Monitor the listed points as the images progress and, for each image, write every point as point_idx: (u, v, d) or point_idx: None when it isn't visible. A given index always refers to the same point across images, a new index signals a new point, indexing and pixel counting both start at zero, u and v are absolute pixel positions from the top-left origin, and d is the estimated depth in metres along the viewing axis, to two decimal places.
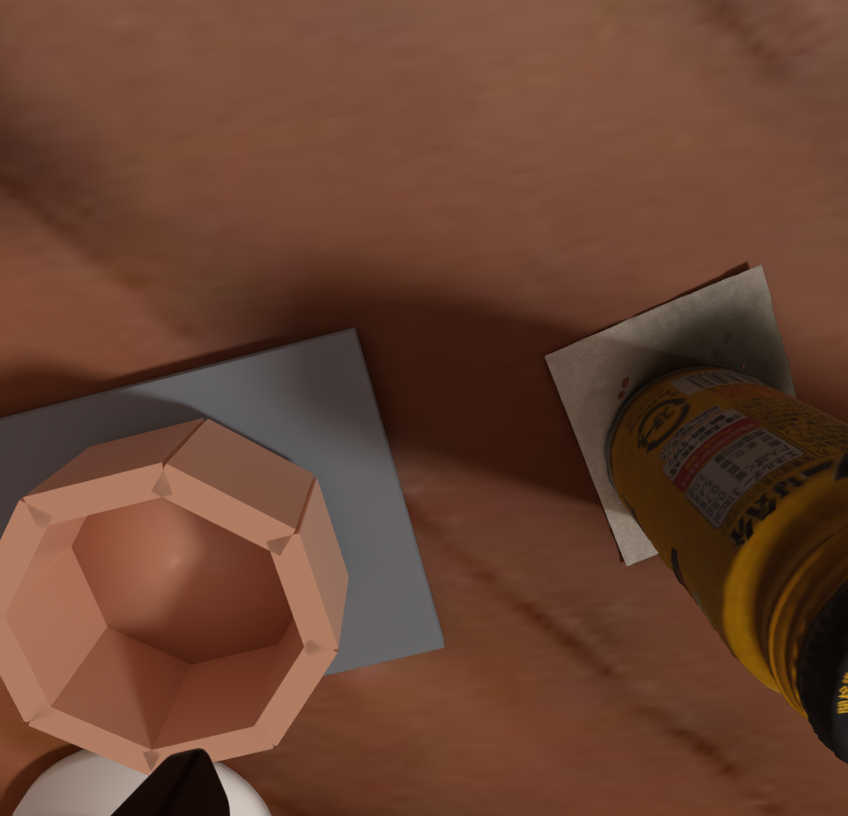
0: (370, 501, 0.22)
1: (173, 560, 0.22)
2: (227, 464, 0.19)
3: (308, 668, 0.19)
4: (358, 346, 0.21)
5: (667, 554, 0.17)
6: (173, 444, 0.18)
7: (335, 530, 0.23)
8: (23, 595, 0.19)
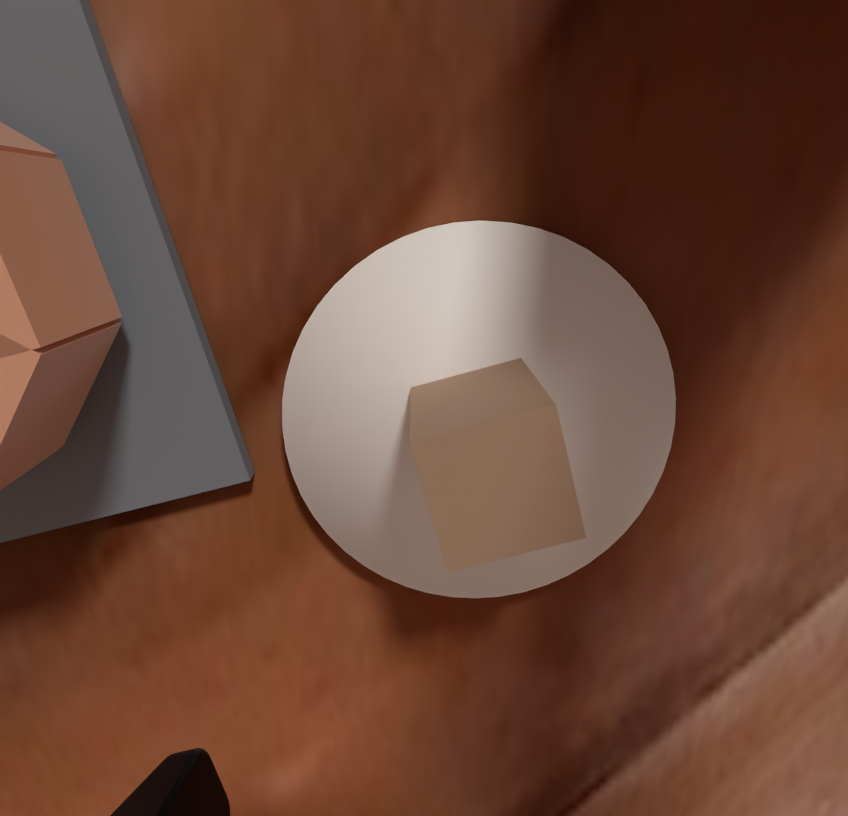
0: None
1: None
2: None
3: None
4: None
5: None
6: None
7: None
8: None
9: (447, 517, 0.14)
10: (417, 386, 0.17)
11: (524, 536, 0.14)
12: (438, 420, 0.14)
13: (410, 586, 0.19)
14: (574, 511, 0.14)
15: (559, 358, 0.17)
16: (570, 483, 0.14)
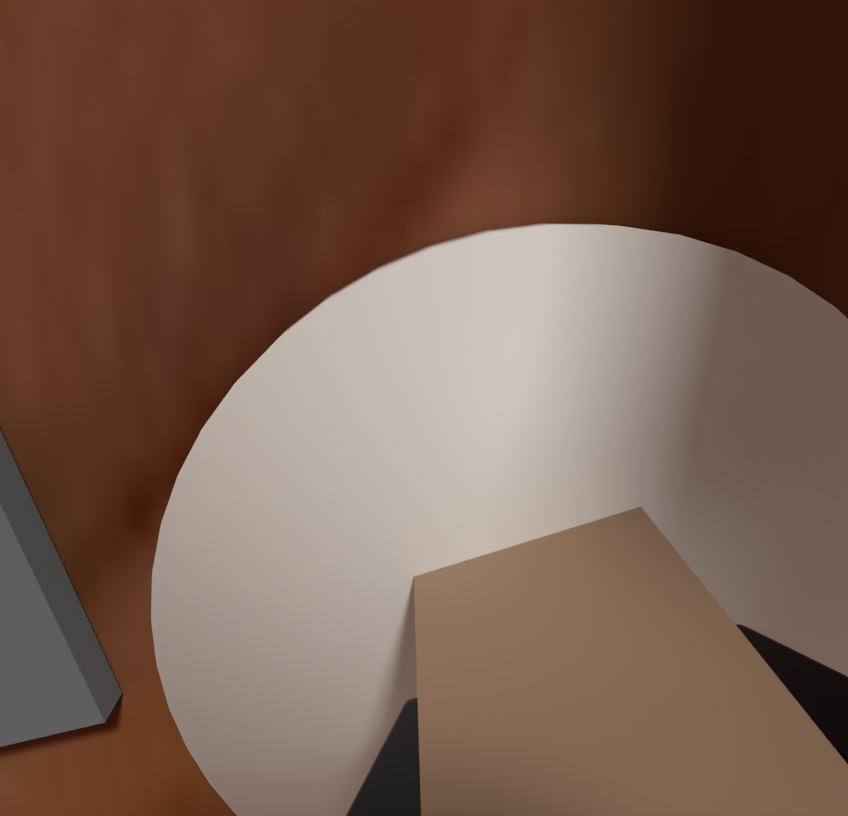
0: None
1: None
2: None
3: None
4: None
5: None
6: None
7: None
8: None
9: None
10: (427, 576, 0.08)
11: None
12: (498, 795, 0.05)
13: None
14: None
15: (721, 503, 0.08)
16: None
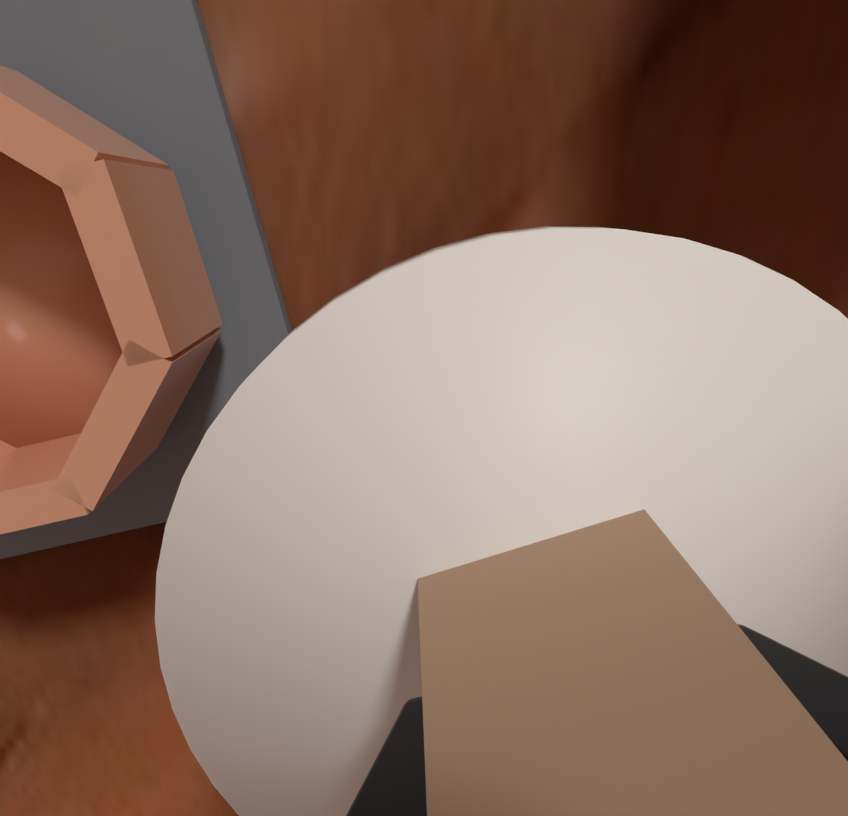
0: None
1: (18, 325, 0.16)
2: None
3: None
4: None
5: None
6: None
7: None
8: None
9: None
10: (431, 578, 0.08)
11: None
12: (504, 799, 0.05)
13: None
14: None
15: (724, 505, 0.08)
16: None
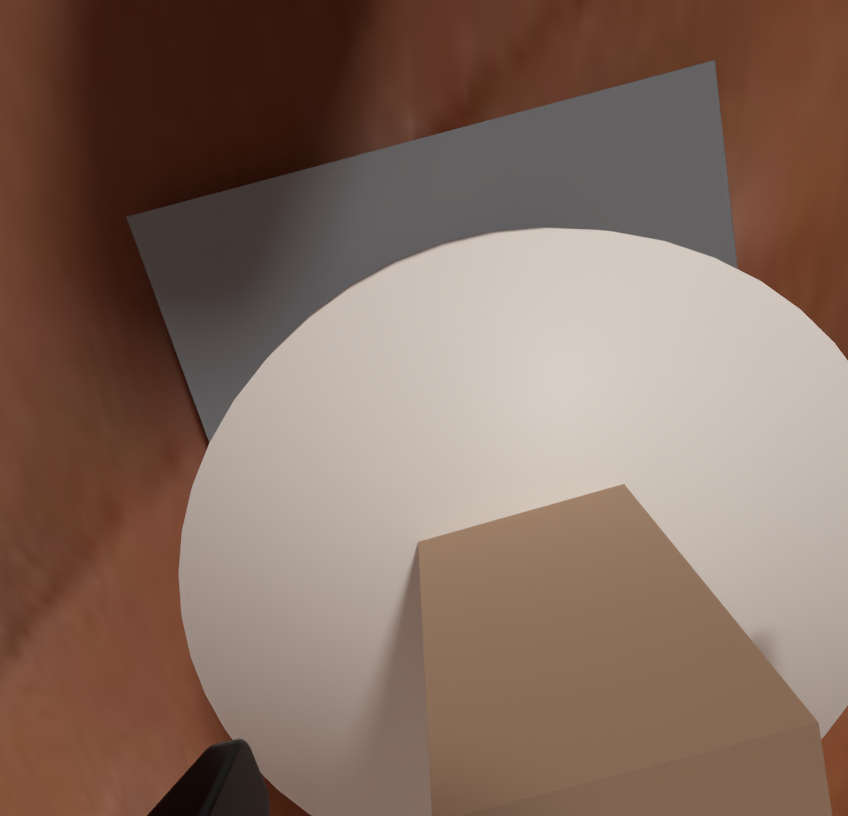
0: (415, 197, 0.13)
1: None
2: None
3: None
4: (153, 210, 0.13)
5: None
6: None
7: None
8: None
9: None
10: (431, 541, 0.09)
11: None
12: (494, 708, 0.06)
13: None
14: None
15: (695, 482, 0.09)
16: None
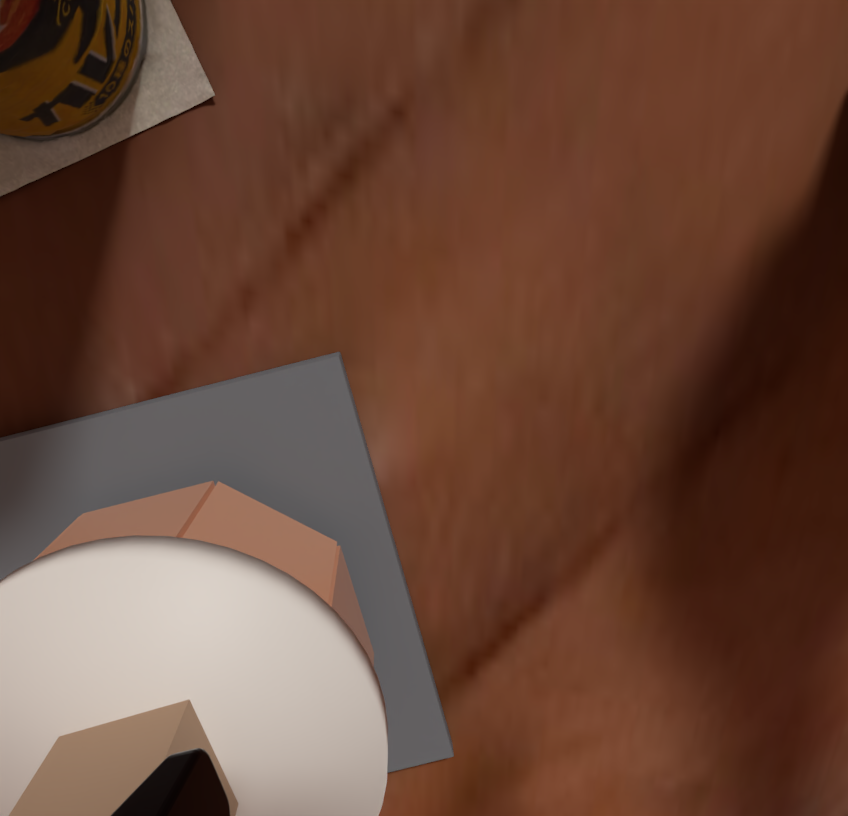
0: (131, 446, 0.19)
1: None
2: None
3: None
4: None
5: None
6: None
7: (175, 486, 0.19)
8: None
9: None
10: (64, 737, 0.14)
11: None
12: None
13: None
14: None
15: (236, 697, 0.14)
16: None
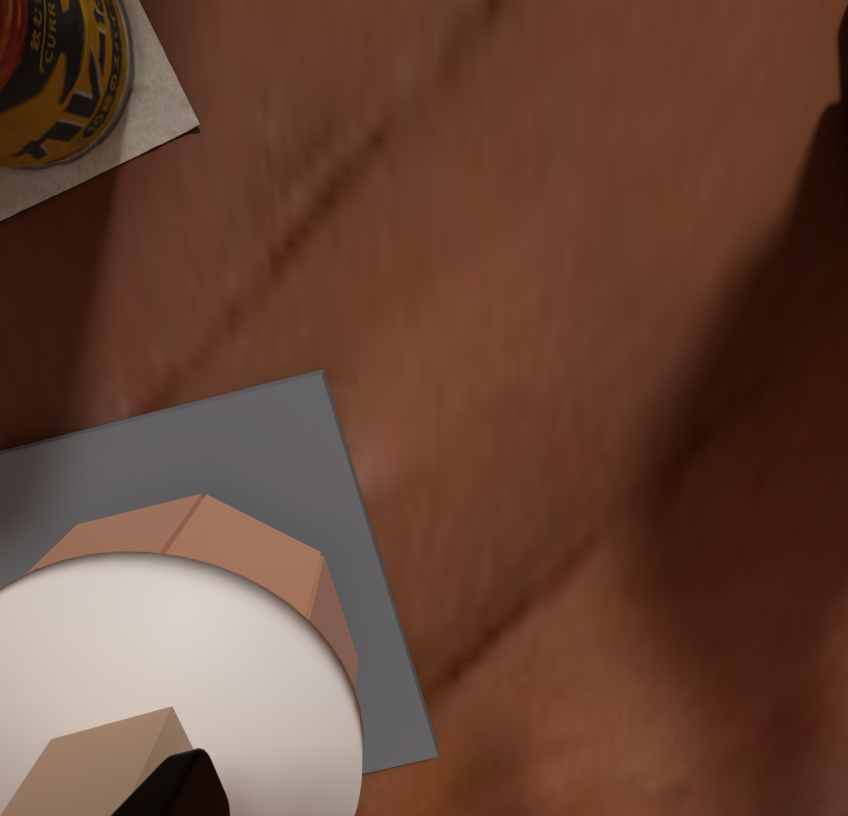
0: (124, 460, 0.19)
1: None
2: None
3: None
4: None
5: None
6: None
7: (166, 497, 0.20)
8: None
9: None
10: (55, 740, 0.15)
11: None
12: None
13: None
14: None
15: (216, 705, 0.15)
16: None
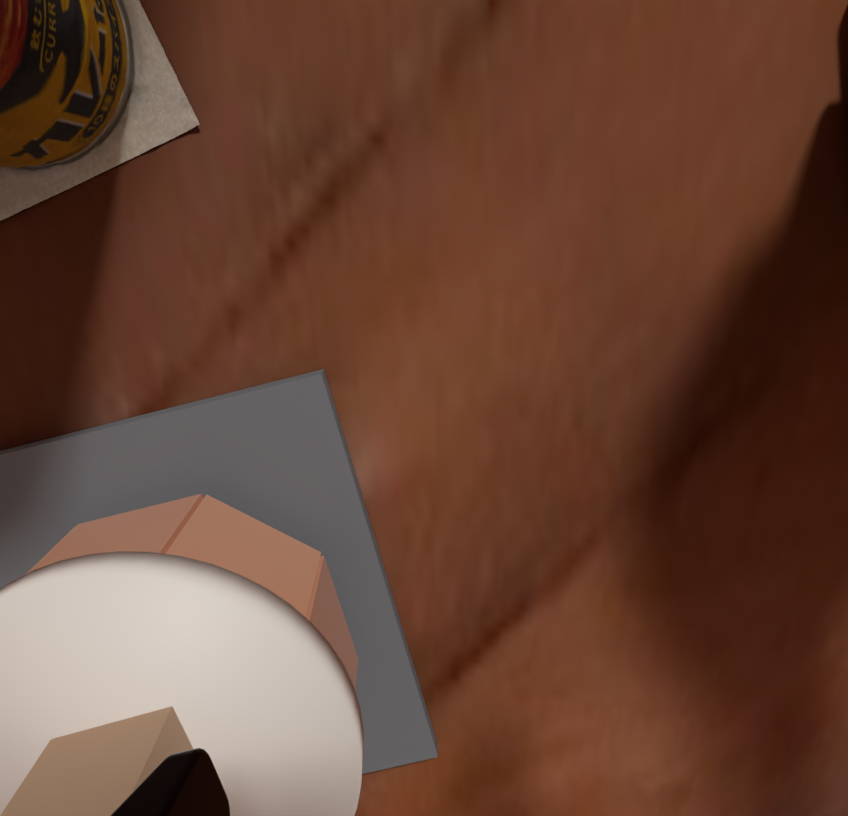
0: (124, 460, 0.19)
1: None
2: None
3: None
4: None
5: None
6: None
7: (166, 497, 0.20)
8: None
9: None
10: (55, 740, 0.15)
11: None
12: None
13: None
14: None
15: (216, 705, 0.15)
16: None
